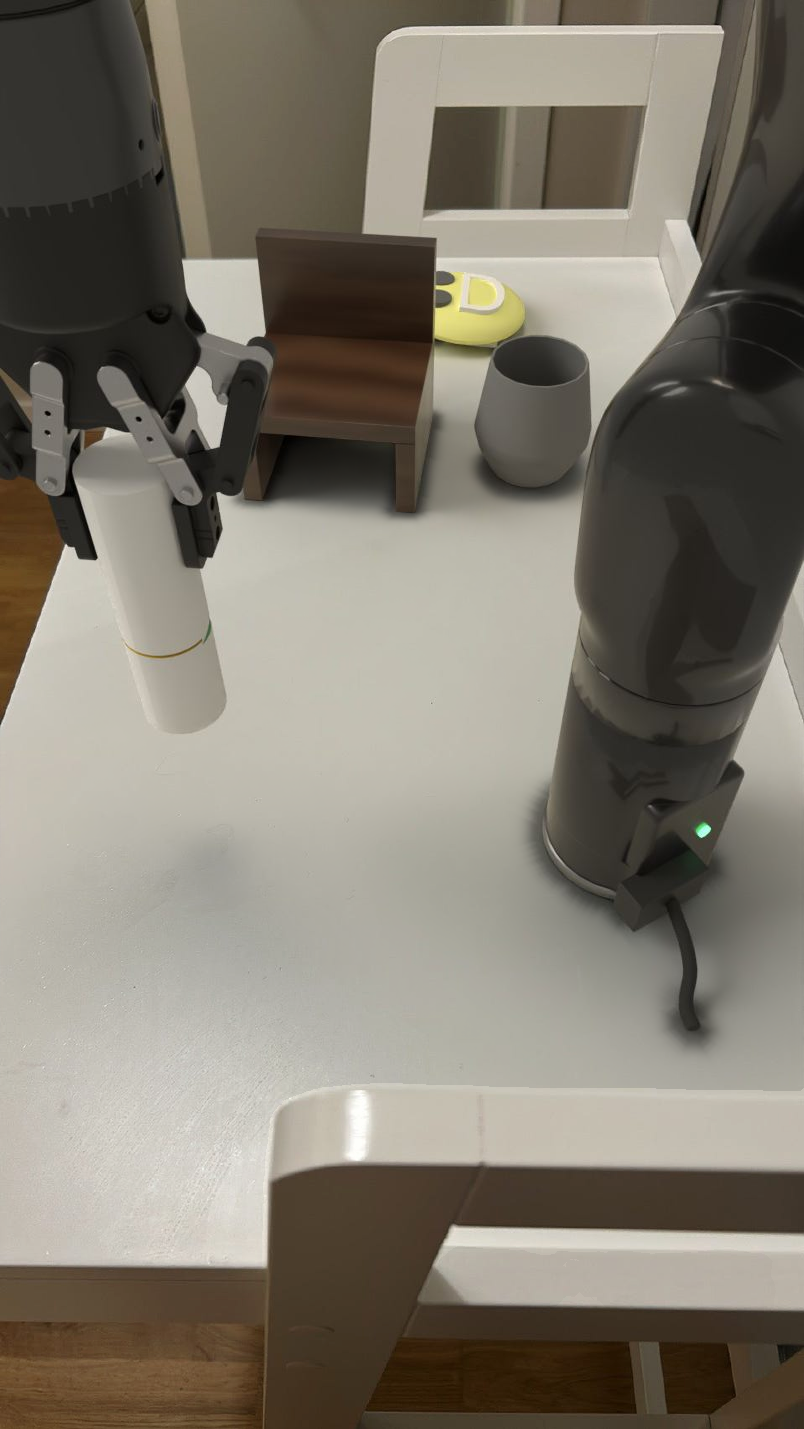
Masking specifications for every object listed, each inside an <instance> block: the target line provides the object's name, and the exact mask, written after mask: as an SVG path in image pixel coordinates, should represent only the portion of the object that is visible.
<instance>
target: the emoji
mask: <svg viewBox="0 0 804 1429" xmlns="http://www.w3.org/2000/svg"><path fill="white" fill-rule="evenodd" d="M525 319H526V307H525V305H524V302H523V300H522V299H521V297H520V296H519V295H518V294H517V293H516V292H515V291H514V289H512V288H511V287H509V286H508V285H507V284H504V283H503V282H501V281H499V280H498V279H496V278H494V277H492V276H488V275H484V274H479V273H473V272H466V271H445V270H436V298H435V340H439V341H443V342H446V343H450V344H456V345H465V346H468V347H469V346H470V347H477V348H491V349H495V348H496V347H498V343H499V342H500V341H502V340H505V339H507V338H510V337H511V336H513V335H514V334H515V333H517V332H518V331H519V329H520V328H521V327H522V325H523V324H524V322H525Z"/></svg>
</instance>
